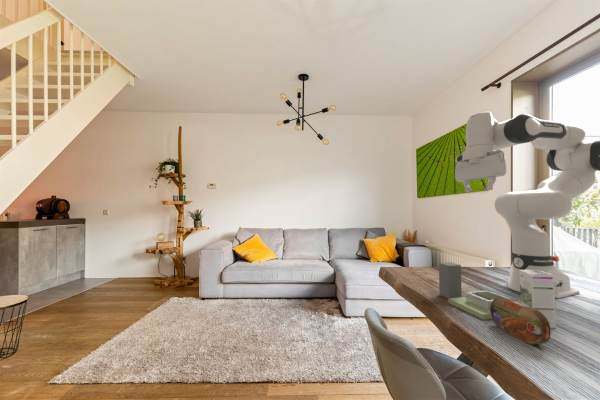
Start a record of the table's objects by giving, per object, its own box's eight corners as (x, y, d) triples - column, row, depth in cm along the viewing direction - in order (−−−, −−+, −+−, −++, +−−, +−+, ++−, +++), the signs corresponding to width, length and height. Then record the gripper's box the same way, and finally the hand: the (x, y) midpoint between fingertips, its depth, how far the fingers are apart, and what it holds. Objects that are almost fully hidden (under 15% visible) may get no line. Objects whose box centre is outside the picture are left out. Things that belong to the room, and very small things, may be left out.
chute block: (451, 294, 100) (450, 262, 101) (461, 298, 96) (460, 265, 96) (439, 295, 100) (438, 262, 100) (449, 299, 95) (448, 265, 95)
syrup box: (557, 328, 72) (555, 274, 72) (532, 326, 73) (530, 273, 74) (542, 319, 78) (541, 269, 78) (519, 318, 79) (518, 268, 79)
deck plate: (488, 299, 95) (487, 286, 95) (528, 315, 81) (527, 300, 81) (448, 302, 92) (448, 289, 92) (483, 319, 78) (482, 304, 78)
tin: (489, 323, 76) (488, 293, 76) (499, 322, 76) (499, 293, 76) (541, 352, 61) (540, 314, 61) (554, 351, 61) (553, 314, 61)
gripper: (511, 149, 92) (511, 189, 91) (465, 160, 112) (465, 193, 111) (495, 147, 91) (495, 187, 90) (452, 159, 111) (451, 192, 110)
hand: (478, 191), depth 101 cm, fingers open, 8 cm apart
